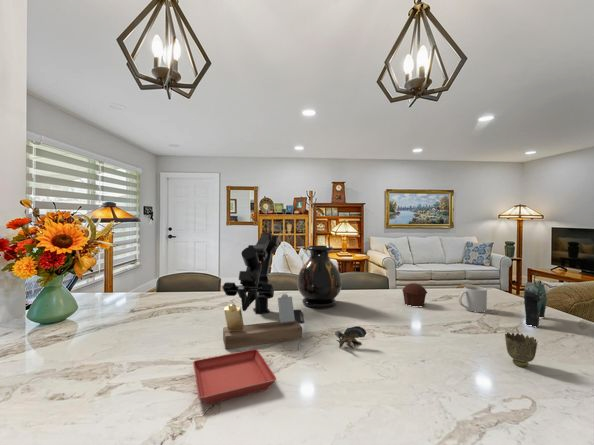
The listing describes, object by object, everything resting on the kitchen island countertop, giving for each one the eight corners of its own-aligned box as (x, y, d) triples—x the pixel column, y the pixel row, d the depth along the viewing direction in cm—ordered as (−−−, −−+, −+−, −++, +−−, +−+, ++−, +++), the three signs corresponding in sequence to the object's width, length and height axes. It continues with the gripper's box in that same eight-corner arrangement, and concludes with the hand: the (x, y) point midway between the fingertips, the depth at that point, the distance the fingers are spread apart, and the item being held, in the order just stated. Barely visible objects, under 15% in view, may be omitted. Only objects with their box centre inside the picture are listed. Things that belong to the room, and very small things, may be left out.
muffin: (400, 300, 150) (400, 281, 149) (422, 301, 148) (423, 281, 148) (405, 307, 138) (405, 286, 138) (430, 308, 136) (430, 287, 136)
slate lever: (279, 323, 104) (276, 294, 108) (293, 321, 106) (289, 293, 110) (281, 322, 102) (278, 293, 106) (295, 320, 104) (291, 292, 108)
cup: (539, 374, 79) (539, 344, 79) (505, 367, 83) (506, 338, 83) (534, 363, 85) (535, 335, 85) (503, 356, 89) (504, 330, 89)
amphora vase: (344, 311, 132) (345, 249, 131) (296, 310, 132) (297, 248, 132) (338, 298, 153) (338, 244, 153) (297, 297, 154) (297, 244, 153)
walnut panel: (223, 339, 101) (223, 327, 101) (294, 330, 109) (294, 319, 109) (225, 348, 93) (225, 336, 93) (302, 338, 102) (302, 327, 101)
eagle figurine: (351, 351, 89) (371, 339, 94) (340, 328, 92) (360, 318, 97) (339, 355, 95) (358, 344, 100) (328, 334, 98) (348, 324, 103)
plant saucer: (198, 412, 63) (198, 397, 63) (192, 372, 80) (192, 360, 80) (277, 392, 70) (277, 379, 70) (257, 359, 87) (257, 348, 87)
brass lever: (230, 325, 99) (225, 302, 95) (244, 326, 98) (240, 302, 94) (227, 330, 97) (222, 307, 93) (242, 331, 96) (238, 308, 92)
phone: (301, 309, 131) (303, 321, 116) (301, 312, 131) (303, 324, 116) (283, 309, 131) (284, 321, 116) (283, 312, 131) (284, 324, 116)
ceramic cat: (539, 330, 111) (540, 277, 110) (518, 325, 116) (519, 274, 115) (549, 318, 124) (550, 271, 124) (530, 314, 129) (530, 269, 128)
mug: (486, 308, 136) (486, 287, 136) (486, 314, 128) (486, 291, 128) (459, 305, 142) (460, 284, 142) (458, 310, 134) (458, 288, 134)
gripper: (224, 261, 112) (212, 298, 101) (272, 262, 109) (265, 300, 98) (231, 277, 120) (221, 313, 109) (276, 279, 117) (270, 315, 106)
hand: (243, 310), depth 106 cm, fingers closed
